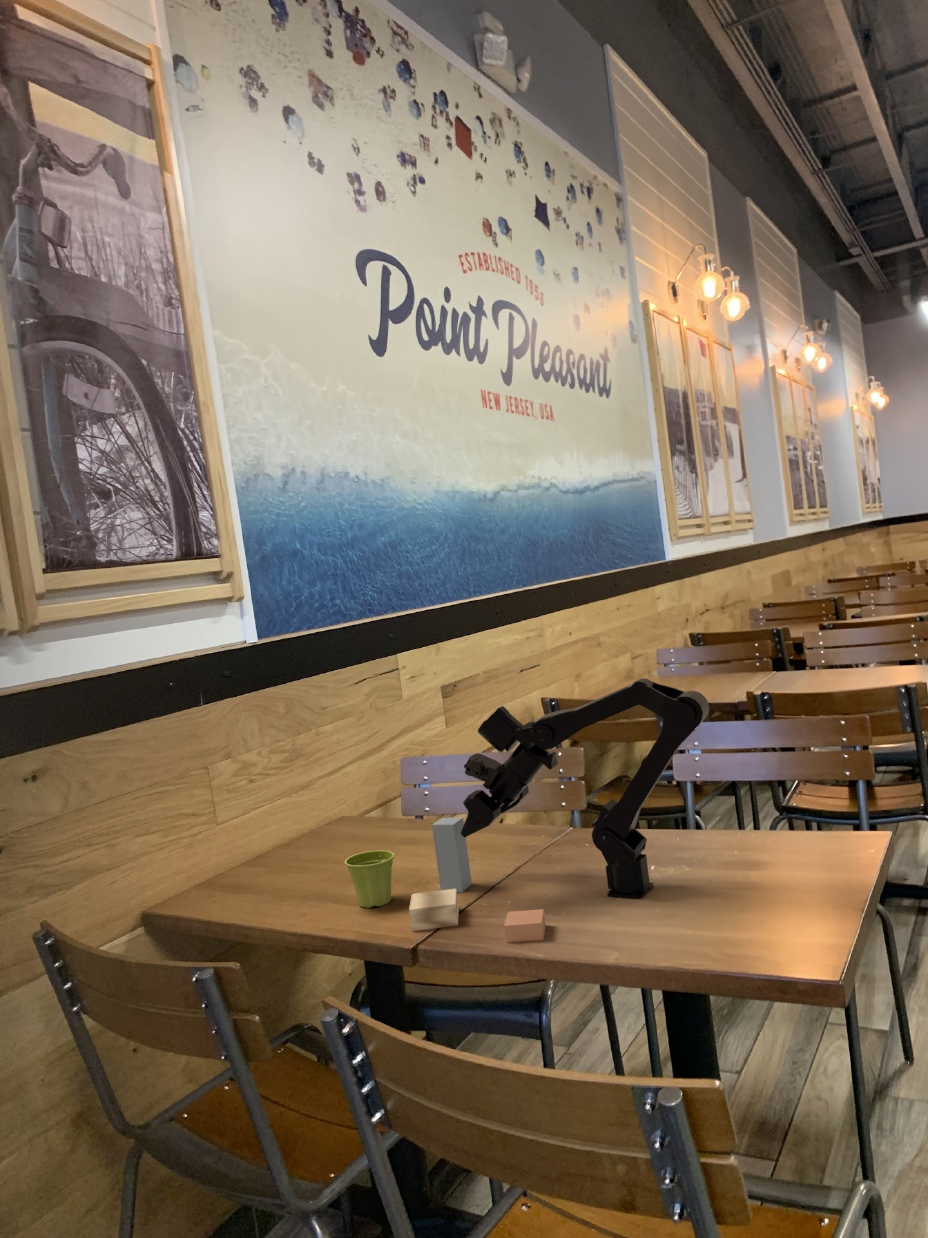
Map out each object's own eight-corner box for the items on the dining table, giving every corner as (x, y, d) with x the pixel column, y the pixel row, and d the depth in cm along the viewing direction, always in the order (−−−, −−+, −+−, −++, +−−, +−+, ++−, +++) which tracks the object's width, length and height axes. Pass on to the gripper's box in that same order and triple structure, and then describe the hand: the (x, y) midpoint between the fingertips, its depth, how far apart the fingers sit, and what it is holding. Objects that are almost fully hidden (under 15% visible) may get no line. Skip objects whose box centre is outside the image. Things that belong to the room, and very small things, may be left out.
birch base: (459, 910, 166) (456, 888, 166) (458, 927, 158) (455, 904, 158) (414, 916, 166) (411, 894, 166) (412, 932, 158) (408, 910, 158)
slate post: (471, 884, 179) (463, 817, 178) (462, 892, 175) (453, 824, 174) (451, 883, 180) (442, 818, 180) (440, 891, 176) (431, 824, 176)
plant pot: (375, 891, 182) (369, 848, 182) (410, 896, 176) (404, 852, 176) (340, 908, 175) (334, 863, 174) (375, 914, 169) (369, 868, 168)
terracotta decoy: (546, 927, 153) (543, 909, 153) (543, 941, 147) (541, 923, 147) (510, 929, 154) (507, 912, 154) (506, 944, 148) (503, 925, 148)
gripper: (506, 729, 180) (462, 786, 185) (466, 751, 163) (419, 812, 169) (549, 768, 177) (503, 825, 182) (513, 794, 160) (464, 855, 166)
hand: (472, 828), depth 175 cm, fingers open, 9 cm apart
